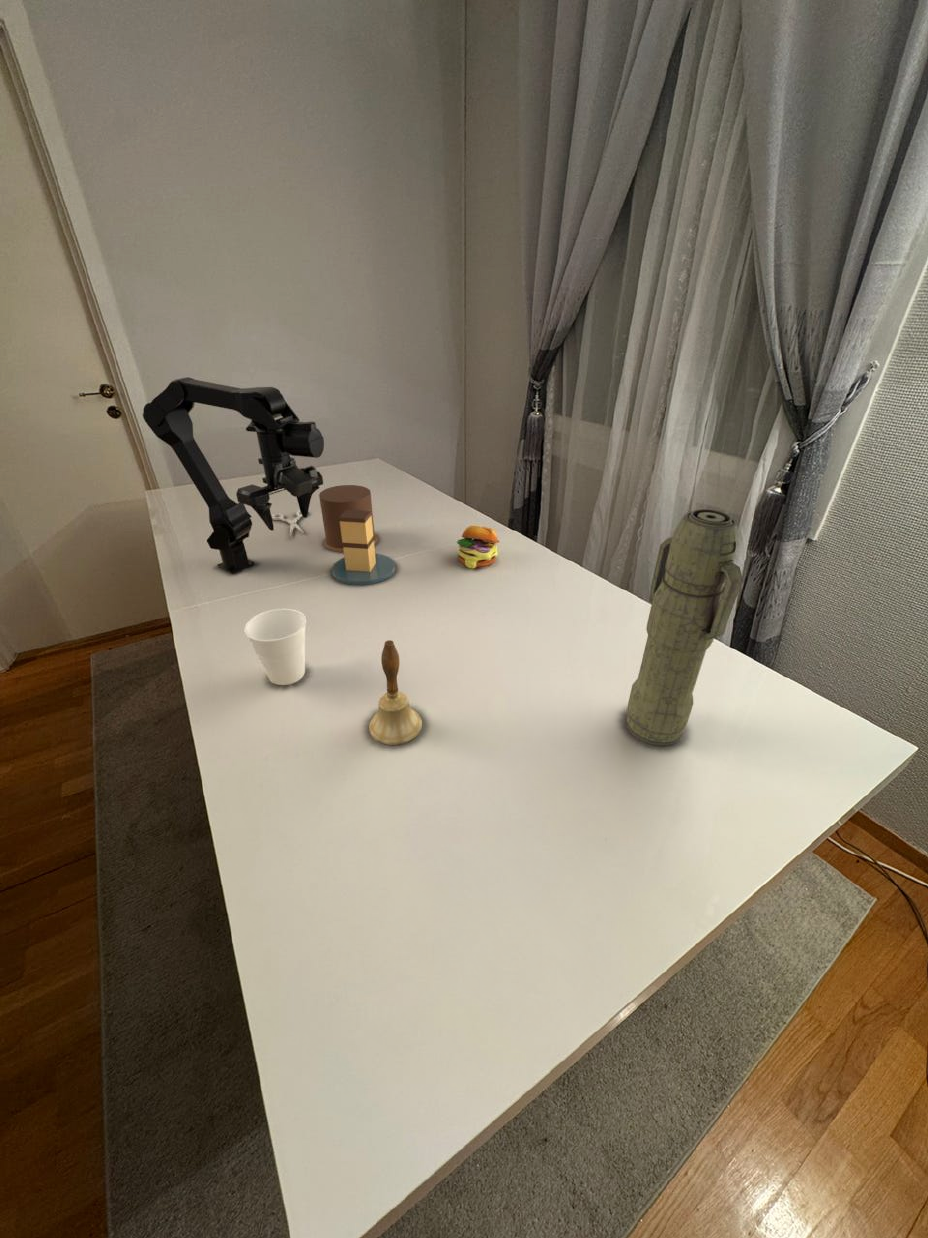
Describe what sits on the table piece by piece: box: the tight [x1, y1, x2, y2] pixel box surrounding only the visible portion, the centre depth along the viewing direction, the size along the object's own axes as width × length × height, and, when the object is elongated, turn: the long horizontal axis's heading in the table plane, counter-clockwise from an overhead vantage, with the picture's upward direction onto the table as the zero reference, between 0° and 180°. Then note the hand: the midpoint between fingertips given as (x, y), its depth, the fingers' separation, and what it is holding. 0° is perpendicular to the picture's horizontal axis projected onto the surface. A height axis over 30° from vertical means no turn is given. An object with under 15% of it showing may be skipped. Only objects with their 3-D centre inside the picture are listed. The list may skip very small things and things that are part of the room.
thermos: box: [624, 508, 744, 747], centre depth 72 cm, size 9×12×35 cm
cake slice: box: [339, 510, 376, 572], centre depth 122 cm, size 6×5×13 cm
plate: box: [331, 553, 396, 586], centre depth 126 cm, size 15×15×1 cm
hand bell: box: [368, 640, 423, 746], centre depth 77 cm, size 8×8×16 cm
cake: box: [318, 484, 378, 553], centre depth 137 cm, size 14×14×13 cm
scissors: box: [271, 510, 305, 537], centre depth 149 cm, size 11×1×20 cm
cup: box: [243, 608, 307, 686], centre depth 89 cm, size 10×10×11 cm
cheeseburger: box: [456, 525, 500, 569], centre depth 129 cm, size 10×11×10 cm
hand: (288, 523), depth 117 cm, fingers open, 9 cm apart
